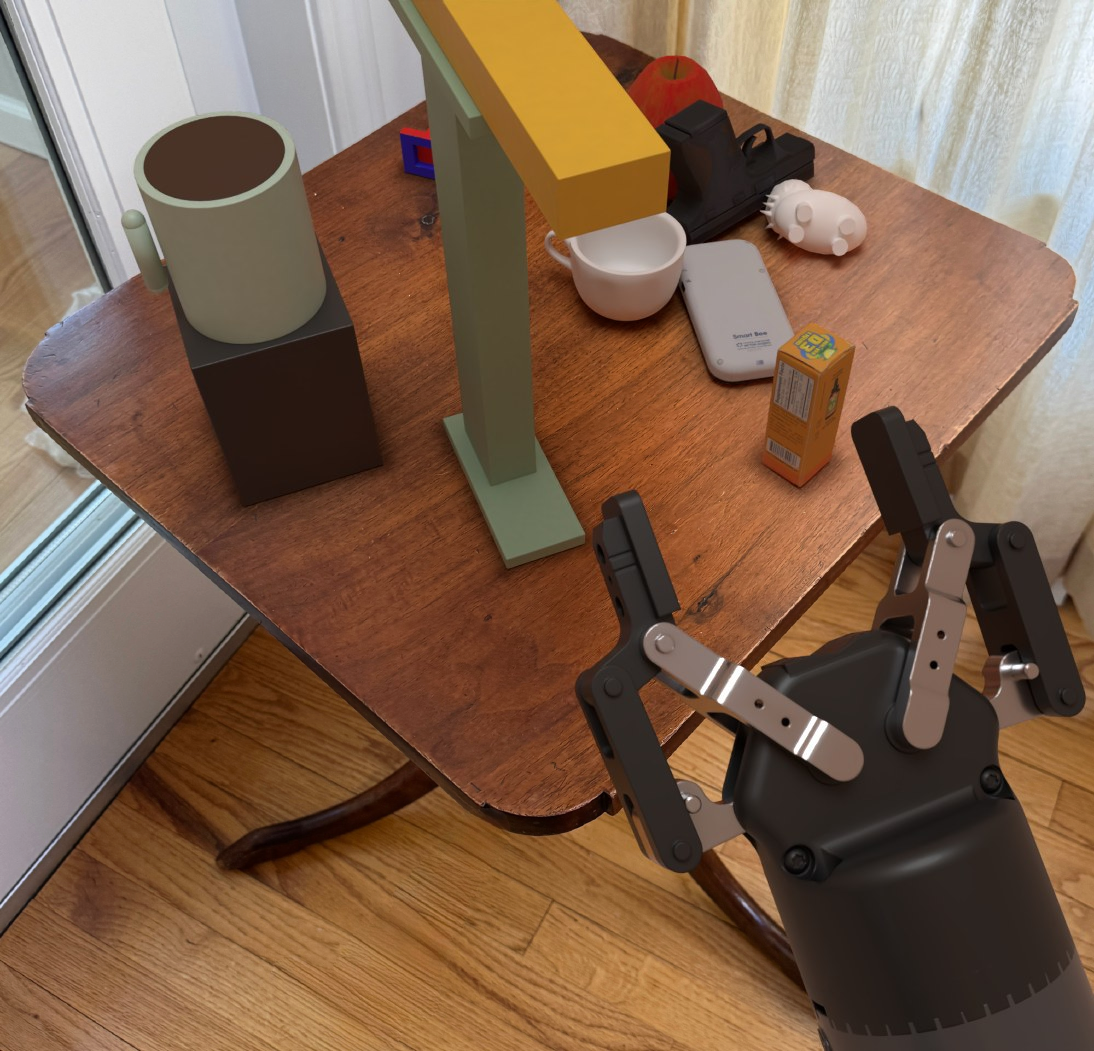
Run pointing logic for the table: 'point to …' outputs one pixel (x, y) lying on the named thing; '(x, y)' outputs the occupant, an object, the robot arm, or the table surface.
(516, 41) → the rectangular block
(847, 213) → the toy creature
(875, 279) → the table surface
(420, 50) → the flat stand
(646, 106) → the apple
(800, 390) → the supplement box
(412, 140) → the toy building block
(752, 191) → the handgun
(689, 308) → the grey smart device
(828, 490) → the table surface
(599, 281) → the teacup
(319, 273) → the hollow cylinder with base
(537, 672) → the table surface
